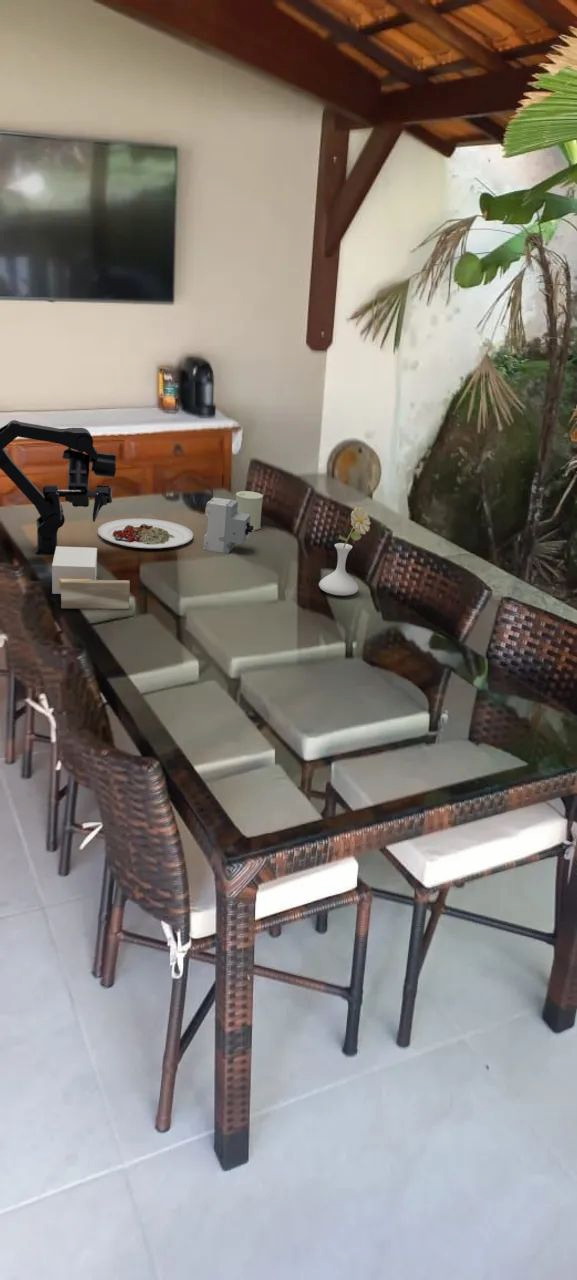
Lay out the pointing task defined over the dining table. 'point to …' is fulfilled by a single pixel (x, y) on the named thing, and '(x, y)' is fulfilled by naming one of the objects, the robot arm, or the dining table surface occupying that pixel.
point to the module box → (73, 565)
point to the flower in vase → (339, 578)
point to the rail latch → (69, 579)
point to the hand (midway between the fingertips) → (77, 521)
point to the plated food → (145, 533)
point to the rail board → (95, 594)
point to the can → (250, 506)
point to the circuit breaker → (225, 525)
